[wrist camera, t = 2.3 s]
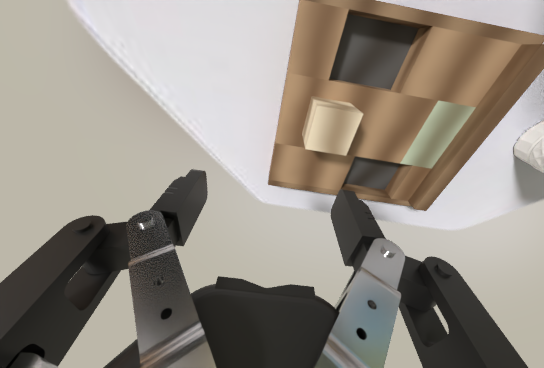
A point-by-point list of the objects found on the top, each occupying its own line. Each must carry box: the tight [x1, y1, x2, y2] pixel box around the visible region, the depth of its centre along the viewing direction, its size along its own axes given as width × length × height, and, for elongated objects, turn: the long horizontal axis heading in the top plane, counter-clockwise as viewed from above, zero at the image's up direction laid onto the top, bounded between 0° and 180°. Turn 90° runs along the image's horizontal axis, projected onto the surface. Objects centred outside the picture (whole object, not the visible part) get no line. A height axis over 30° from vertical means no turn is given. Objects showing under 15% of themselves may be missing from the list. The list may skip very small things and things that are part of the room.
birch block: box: [302, 96, 363, 156], centre depth 24 cm, size 5×5×5 cm
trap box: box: [268, 0, 544, 211], centre depth 27 cm, size 26×24×5 cm
